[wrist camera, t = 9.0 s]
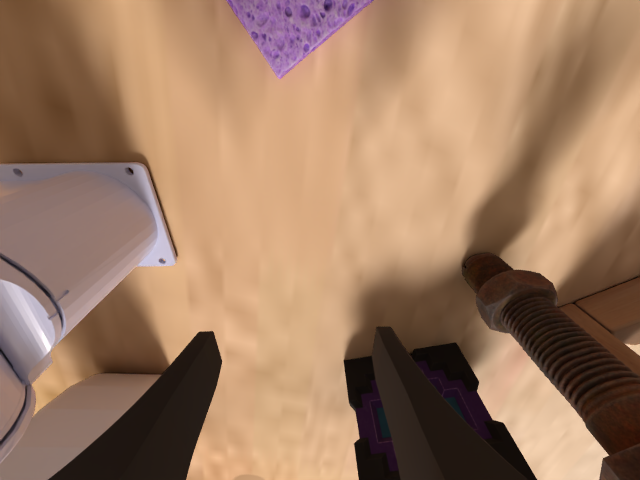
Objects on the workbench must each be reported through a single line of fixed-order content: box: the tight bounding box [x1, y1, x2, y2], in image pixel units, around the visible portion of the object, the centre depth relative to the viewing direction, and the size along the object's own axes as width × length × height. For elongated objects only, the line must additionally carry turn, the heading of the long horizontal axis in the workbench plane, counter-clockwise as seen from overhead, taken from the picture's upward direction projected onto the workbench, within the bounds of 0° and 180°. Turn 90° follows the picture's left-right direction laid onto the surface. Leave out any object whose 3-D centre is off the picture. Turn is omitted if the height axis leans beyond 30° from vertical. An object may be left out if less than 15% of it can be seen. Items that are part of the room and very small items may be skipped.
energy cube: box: [344, 343, 537, 480], centre depth 25 cm, size 12×12×12 cm
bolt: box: [462, 253, 640, 480], centre depth 16 cm, size 6×5×15 cm
